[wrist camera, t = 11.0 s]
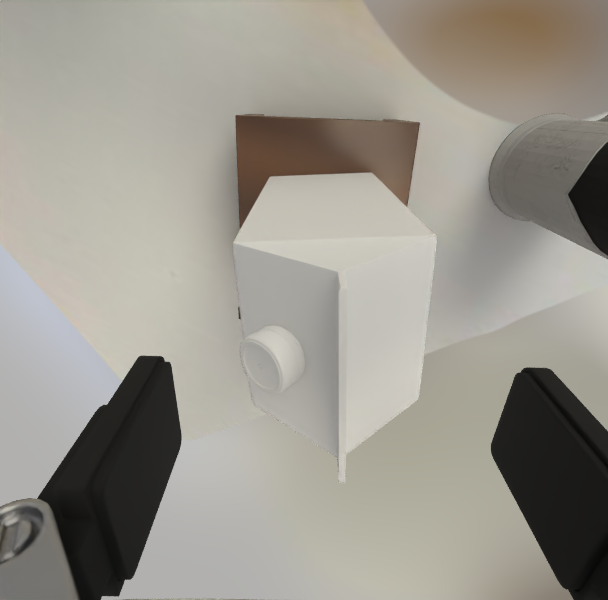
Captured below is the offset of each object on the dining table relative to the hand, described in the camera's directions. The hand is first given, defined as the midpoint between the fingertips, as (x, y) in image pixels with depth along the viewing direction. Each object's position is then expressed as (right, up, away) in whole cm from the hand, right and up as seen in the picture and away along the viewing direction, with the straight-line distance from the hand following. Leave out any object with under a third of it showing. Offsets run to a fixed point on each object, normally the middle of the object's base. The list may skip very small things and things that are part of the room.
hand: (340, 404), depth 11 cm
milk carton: (0, +8, +18) cm, 20 cm away
